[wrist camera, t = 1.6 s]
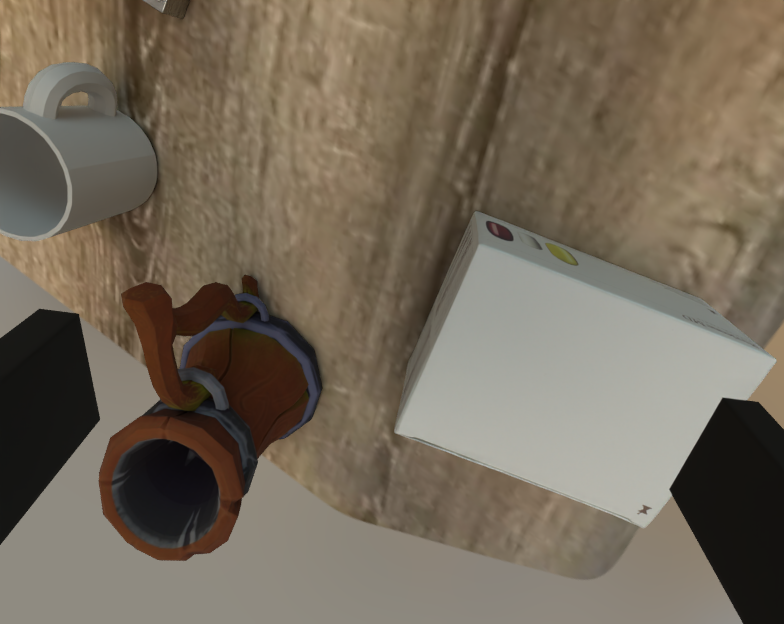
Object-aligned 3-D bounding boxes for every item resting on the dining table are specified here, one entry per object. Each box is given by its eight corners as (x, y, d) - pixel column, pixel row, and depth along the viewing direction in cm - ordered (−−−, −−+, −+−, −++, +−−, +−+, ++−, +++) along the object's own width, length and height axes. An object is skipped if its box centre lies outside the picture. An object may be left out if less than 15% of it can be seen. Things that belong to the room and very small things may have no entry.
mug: (176, 216, 37) (8, 285, 23) (330, 233, 36) (249, 315, 22) (195, 420, 44) (75, 565, 30) (324, 439, 43) (260, 597, 29)
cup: (59, 186, 37) (-54, 210, 29) (76, 44, 33) (-49, 26, 25) (150, 226, 38) (64, 261, 29) (179, 90, 34) (88, 87, 25)
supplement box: (705, 295, 34) (786, 360, 26) (607, 440, 40) (647, 534, 31) (473, 205, 34) (477, 240, 25) (406, 363, 39) (390, 437, 31)
